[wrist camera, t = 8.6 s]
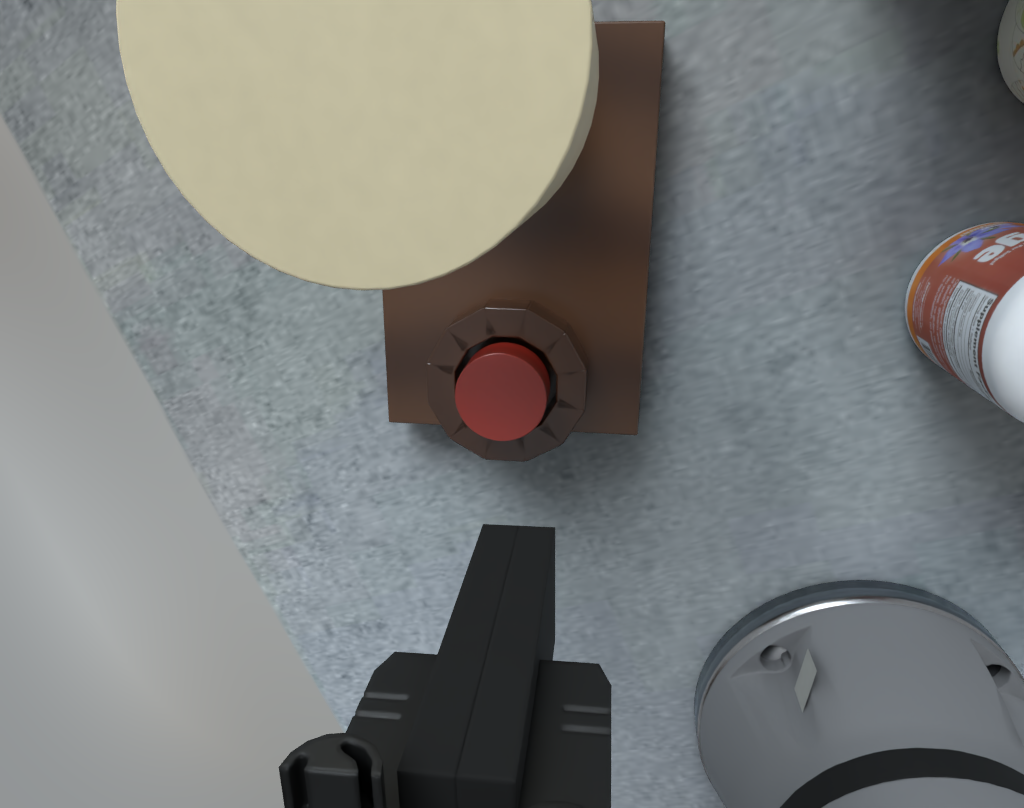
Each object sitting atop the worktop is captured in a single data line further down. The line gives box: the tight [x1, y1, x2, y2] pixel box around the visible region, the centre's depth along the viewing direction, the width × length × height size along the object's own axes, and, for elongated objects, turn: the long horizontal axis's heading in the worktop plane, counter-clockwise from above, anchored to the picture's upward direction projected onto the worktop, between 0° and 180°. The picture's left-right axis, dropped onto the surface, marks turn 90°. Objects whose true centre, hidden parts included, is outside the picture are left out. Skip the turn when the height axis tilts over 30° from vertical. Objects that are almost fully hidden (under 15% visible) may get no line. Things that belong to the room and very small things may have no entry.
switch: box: [455, 342, 550, 441], centre depth 29 cm, size 4×4×2 cm
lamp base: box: [382, 21, 665, 462], centre depth 30 cm, size 17×11×4 cm, turn 0°
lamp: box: [116, 0, 599, 290], centre depth 19 cm, size 7×7×17 cm
